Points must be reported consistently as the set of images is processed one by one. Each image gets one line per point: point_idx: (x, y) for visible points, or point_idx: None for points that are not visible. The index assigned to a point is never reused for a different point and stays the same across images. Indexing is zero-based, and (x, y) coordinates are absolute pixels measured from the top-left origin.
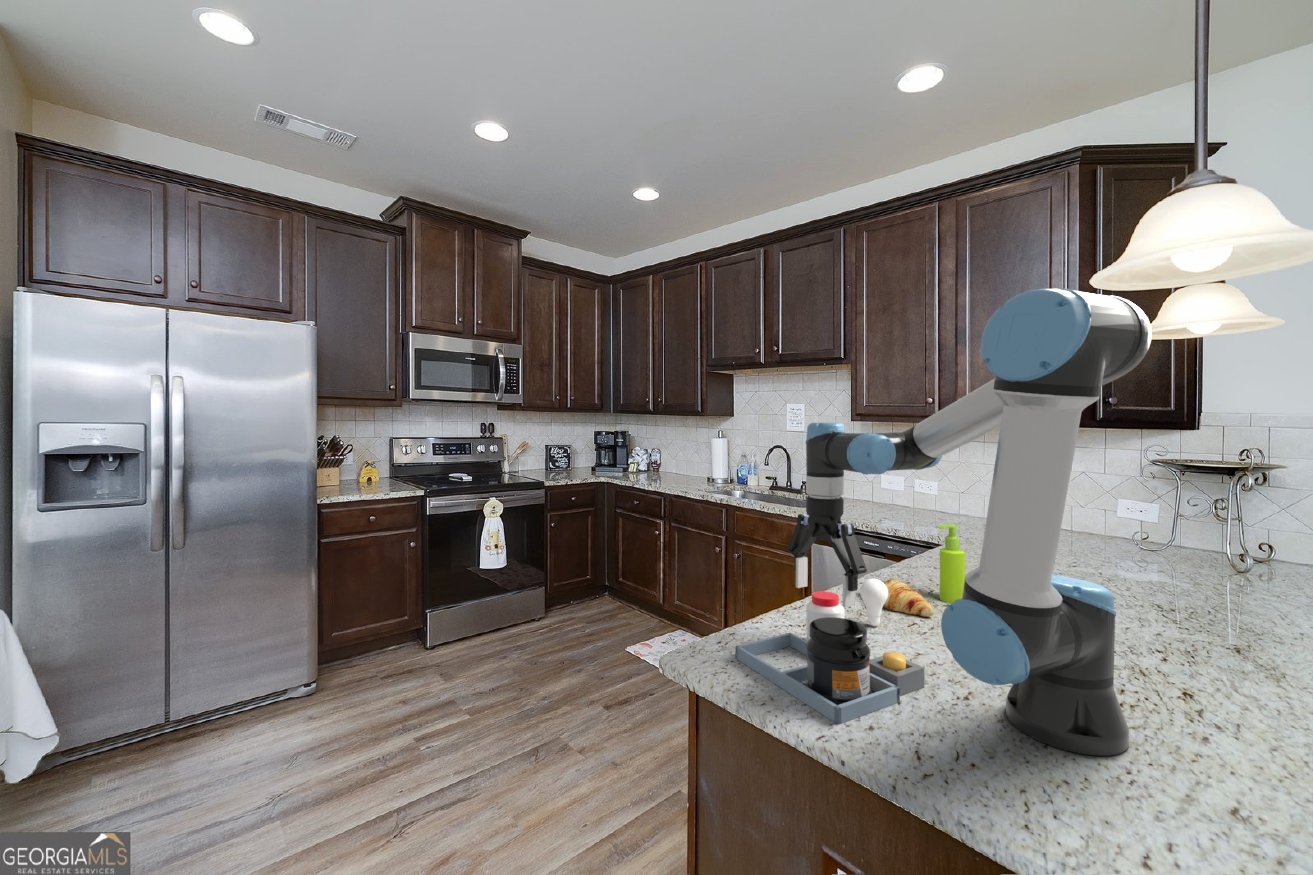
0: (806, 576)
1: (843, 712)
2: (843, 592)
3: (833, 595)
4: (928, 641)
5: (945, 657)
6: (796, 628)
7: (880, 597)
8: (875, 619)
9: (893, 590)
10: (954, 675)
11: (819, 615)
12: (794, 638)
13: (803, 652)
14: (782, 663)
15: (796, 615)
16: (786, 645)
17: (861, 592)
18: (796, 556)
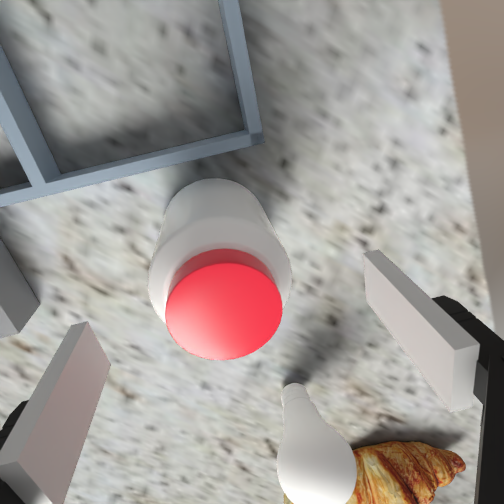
0: (387, 324)
1: None
2: (59, 368)
3: (210, 342)
4: (185, 437)
5: (103, 429)
6: (354, 214)
7: (277, 463)
8: (284, 401)
9: (374, 498)
10: (14, 404)
11: (170, 234)
12: (226, 138)
13: (185, 144)
14: (127, 32)
15: (430, 257)
16: (242, 115)
17: (324, 440)
18: (489, 357)
